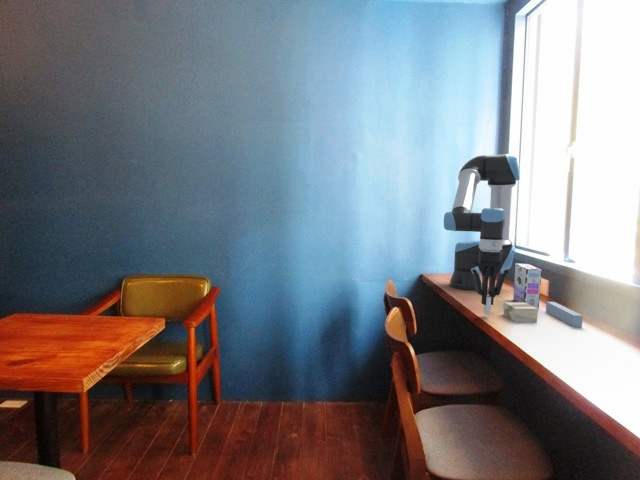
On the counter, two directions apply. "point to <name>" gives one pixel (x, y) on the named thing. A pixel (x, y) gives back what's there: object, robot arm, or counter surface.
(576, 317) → the blue-grey bar
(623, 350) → the counter surface
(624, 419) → the counter surface
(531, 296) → the candy box
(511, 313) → the block
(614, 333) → the counter surface
